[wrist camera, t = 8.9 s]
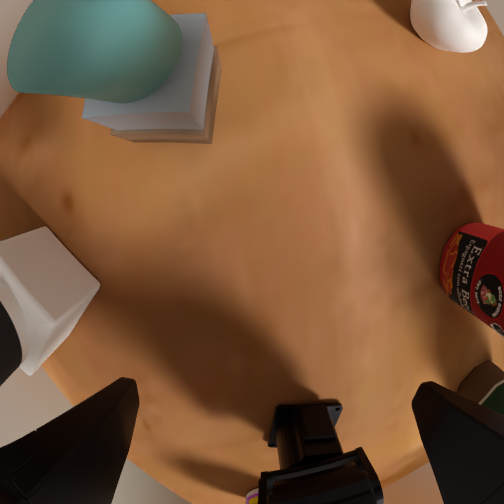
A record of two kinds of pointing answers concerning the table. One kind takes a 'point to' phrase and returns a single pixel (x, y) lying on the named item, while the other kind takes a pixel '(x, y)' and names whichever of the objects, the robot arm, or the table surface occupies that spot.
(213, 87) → the walnut block
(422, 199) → the table surface
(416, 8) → the plain white apple
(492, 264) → the canned food
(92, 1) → the teal cylinder
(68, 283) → the medicine bottle
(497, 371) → the beer bottle
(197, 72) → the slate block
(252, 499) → the supplement bottle
